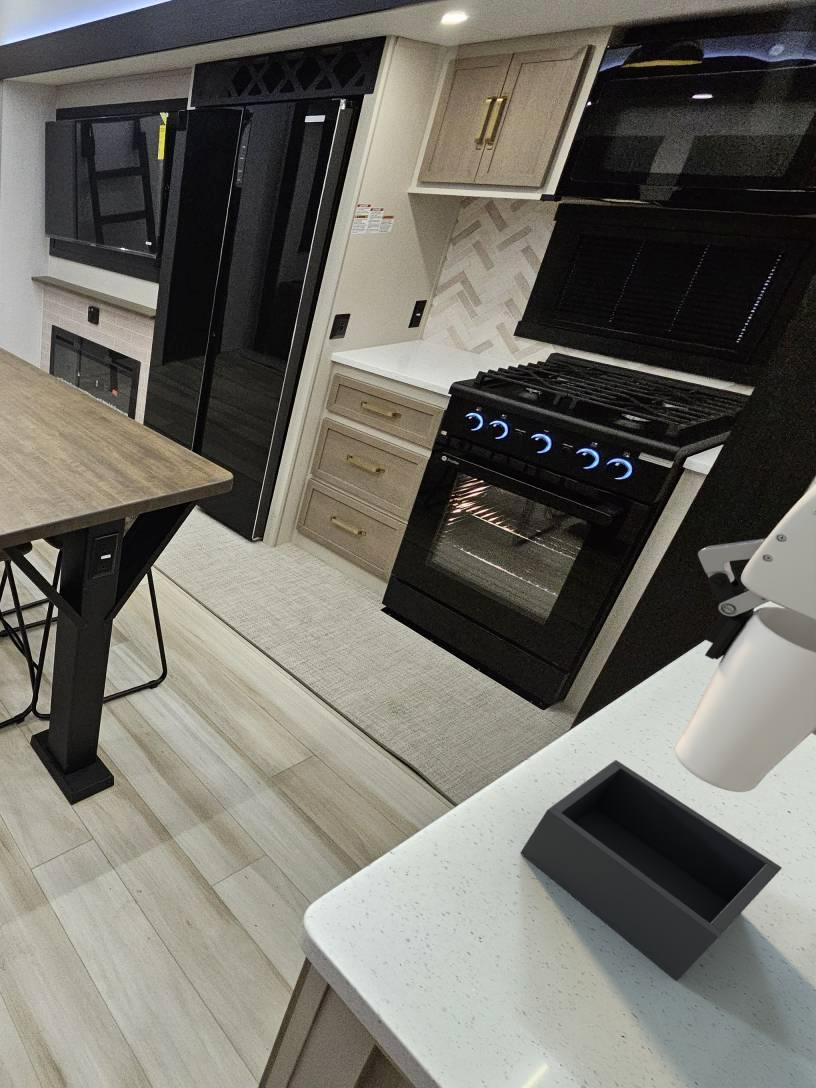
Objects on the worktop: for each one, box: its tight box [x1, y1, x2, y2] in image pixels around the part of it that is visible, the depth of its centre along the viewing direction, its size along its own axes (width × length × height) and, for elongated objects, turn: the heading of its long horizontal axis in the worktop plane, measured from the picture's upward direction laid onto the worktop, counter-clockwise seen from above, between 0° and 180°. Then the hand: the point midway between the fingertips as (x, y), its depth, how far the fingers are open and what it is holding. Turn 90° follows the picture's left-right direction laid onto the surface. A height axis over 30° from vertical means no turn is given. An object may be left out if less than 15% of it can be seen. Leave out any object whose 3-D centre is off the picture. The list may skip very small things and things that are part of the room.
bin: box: [520, 759, 782, 982], centre depth 63 cm, size 13×13×7 cm
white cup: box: [673, 606, 816, 793], centre depth 55 cm, size 7×7×15 cm
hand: (777, 681), depth 54 cm, fingers closed on white cup, 6 cm apart
